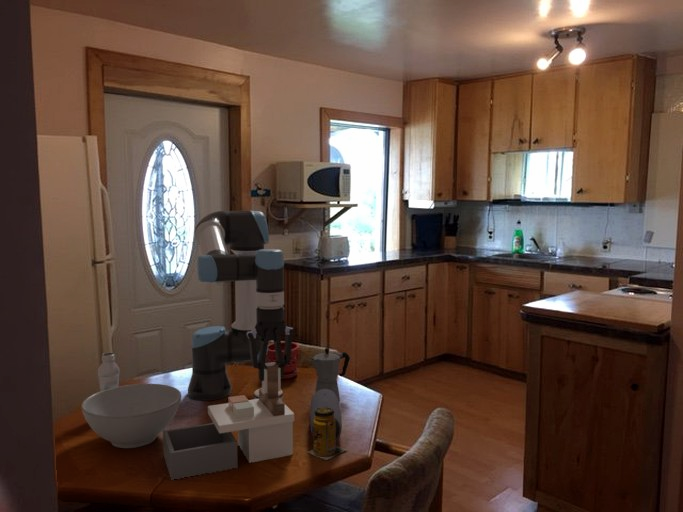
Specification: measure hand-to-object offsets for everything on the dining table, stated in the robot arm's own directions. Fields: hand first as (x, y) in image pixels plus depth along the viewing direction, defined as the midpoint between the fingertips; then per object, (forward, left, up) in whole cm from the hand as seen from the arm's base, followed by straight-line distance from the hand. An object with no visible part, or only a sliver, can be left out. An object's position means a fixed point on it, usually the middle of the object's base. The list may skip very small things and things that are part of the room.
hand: (271, 390), depth 157 cm
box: (0, -20, -17) cm, 26 cm away
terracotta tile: (-3, -8, -5) cm, 10 cm away
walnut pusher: (0, 0, -5) cm, 5 cm away
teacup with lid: (-21, +6, -17) cm, 28 cm away
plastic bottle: (-44, -40, -17) cm, 62 cm away
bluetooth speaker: (-4, +18, -17) cm, 25 cm away
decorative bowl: (-22, -34, -17) cm, 44 cm away
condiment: (+8, +13, -17) cm, 23 cm away
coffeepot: (-30, +30, -17) cm, 46 cm away
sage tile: (+3, -8, -5) cm, 10 cm away
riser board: (0, -7, -17) cm, 18 cm away
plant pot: (-61, +23, -17) cm, 67 cm away
